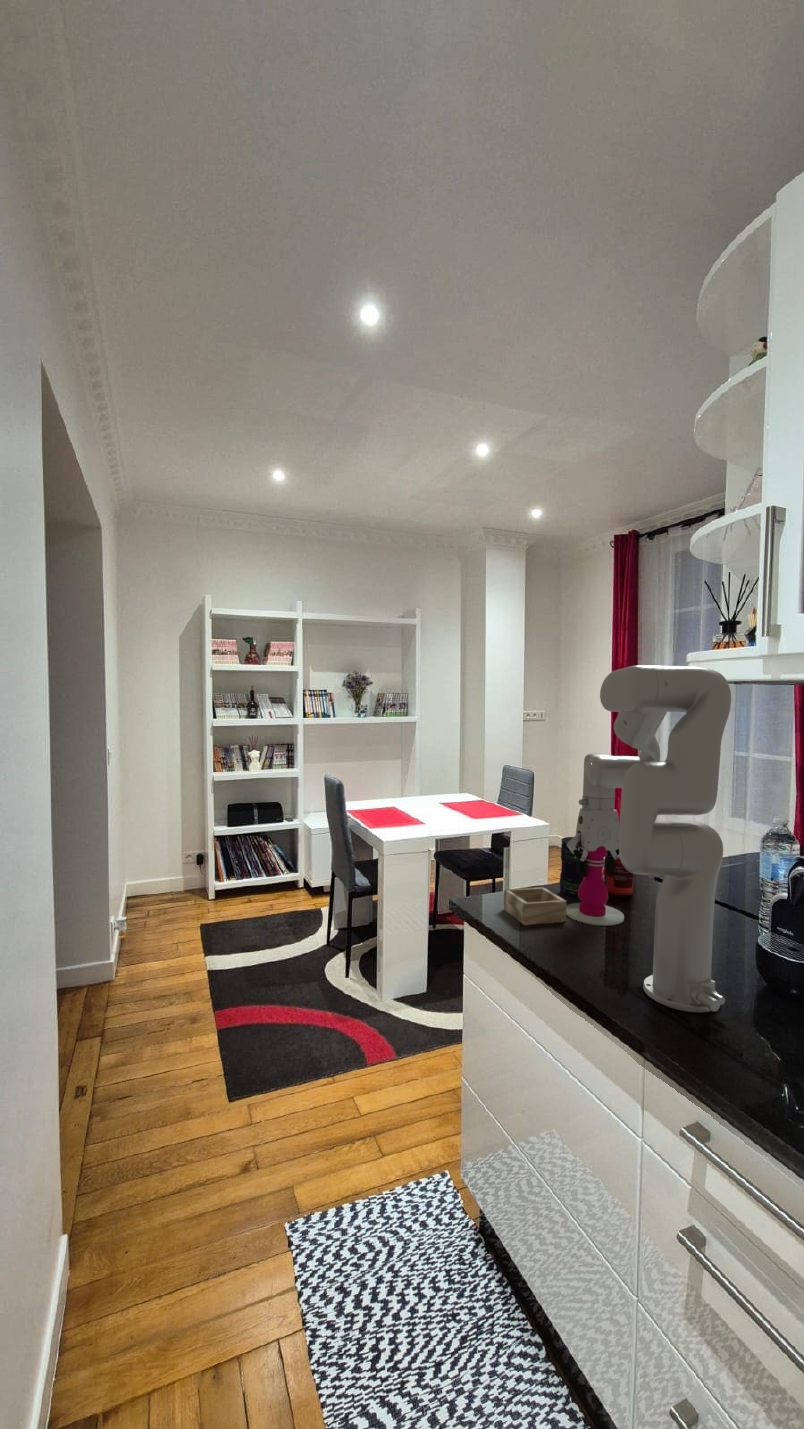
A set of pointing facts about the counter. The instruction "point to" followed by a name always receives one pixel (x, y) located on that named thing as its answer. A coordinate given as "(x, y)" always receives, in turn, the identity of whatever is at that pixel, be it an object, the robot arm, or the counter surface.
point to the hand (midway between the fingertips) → (595, 874)
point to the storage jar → (569, 872)
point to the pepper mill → (594, 885)
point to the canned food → (619, 880)
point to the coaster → (608, 919)
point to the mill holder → (534, 905)
